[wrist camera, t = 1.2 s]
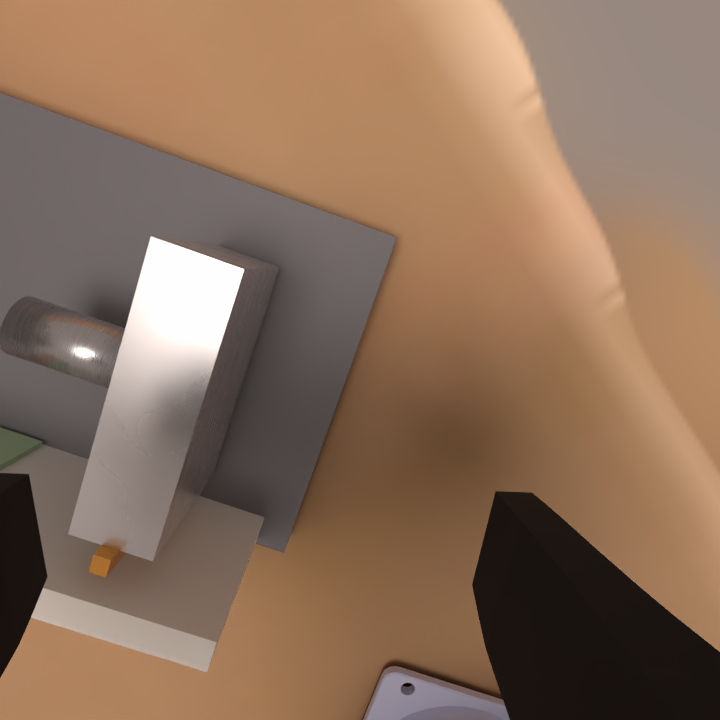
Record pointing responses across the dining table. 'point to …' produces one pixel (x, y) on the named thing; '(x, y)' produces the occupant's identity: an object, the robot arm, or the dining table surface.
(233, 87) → the dining table surface
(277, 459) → the base
